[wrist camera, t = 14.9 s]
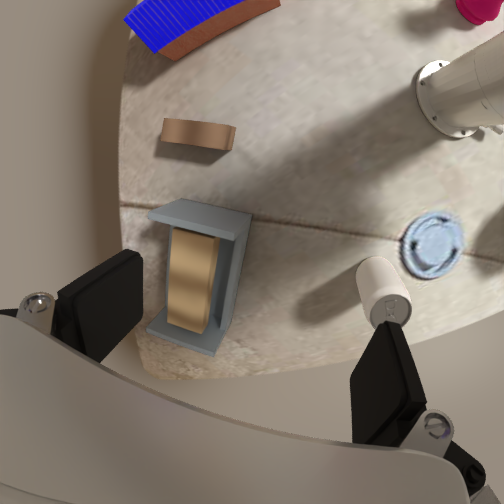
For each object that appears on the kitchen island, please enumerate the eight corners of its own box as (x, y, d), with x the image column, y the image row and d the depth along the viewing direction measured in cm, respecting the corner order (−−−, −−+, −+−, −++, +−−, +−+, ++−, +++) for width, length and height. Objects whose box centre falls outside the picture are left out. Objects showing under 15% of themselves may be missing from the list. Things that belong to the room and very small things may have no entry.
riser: (236, 127, 38) (228, 125, 34) (231, 150, 39) (223, 149, 36) (176, 120, 39) (164, 118, 36) (172, 141, 41) (160, 140, 37)
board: (207, 323, 44) (201, 334, 42) (175, 312, 45) (167, 322, 43) (221, 232, 38) (214, 238, 36) (182, 222, 39) (172, 228, 36)
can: (356, 294, 43) (366, 339, 32) (353, 258, 41) (365, 295, 30) (393, 289, 41) (413, 331, 30) (392, 252, 39) (416, 287, 28)
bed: (252, 214, 42) (234, 233, 33) (231, 322, 50) (213, 357, 41) (181, 198, 44) (148, 211, 34) (171, 303, 51) (146, 332, 42)
